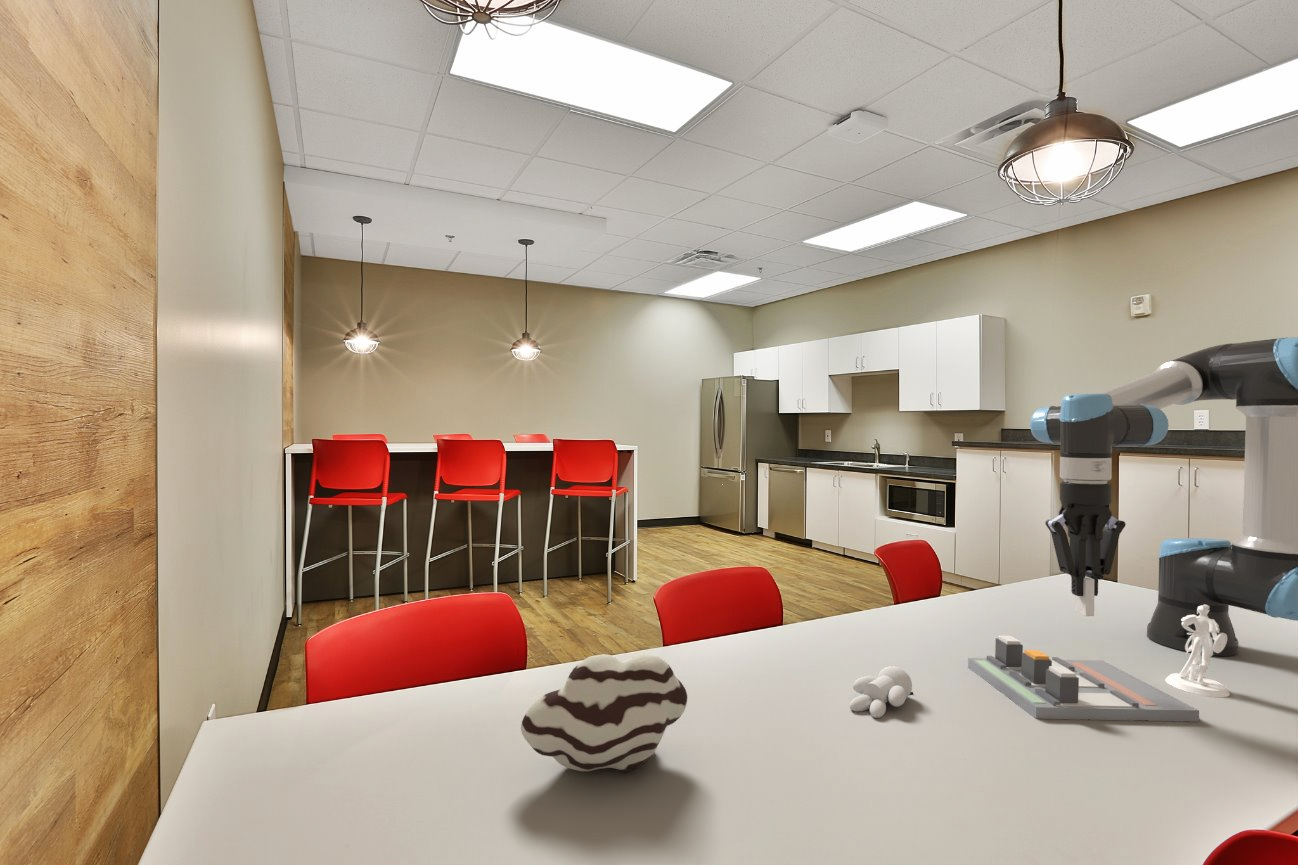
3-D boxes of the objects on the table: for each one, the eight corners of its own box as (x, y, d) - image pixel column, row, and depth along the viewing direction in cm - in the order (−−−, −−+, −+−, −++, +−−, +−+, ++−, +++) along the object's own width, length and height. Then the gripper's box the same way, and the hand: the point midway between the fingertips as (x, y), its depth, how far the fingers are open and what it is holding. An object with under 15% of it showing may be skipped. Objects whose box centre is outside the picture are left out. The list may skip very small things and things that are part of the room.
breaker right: (1063, 693, 104) (1064, 665, 104) (1078, 702, 101) (1079, 674, 101) (1045, 692, 104) (1046, 665, 104) (1059, 702, 101) (1060, 674, 101)
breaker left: (1010, 659, 119) (1011, 635, 119) (1022, 666, 116) (1022, 641, 116) (995, 659, 119) (995, 635, 119) (1005, 666, 116) (1006, 641, 116)
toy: (884, 730, 96) (929, 700, 106) (884, 695, 96) (929, 667, 106) (836, 711, 103) (883, 683, 112) (836, 677, 102) (883, 652, 112)
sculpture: (673, 736, 91) (676, 633, 91) (704, 783, 79) (707, 666, 79) (516, 755, 85) (518, 645, 85) (524, 810, 73) (526, 683, 73)
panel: (1102, 669, 121) (1103, 656, 121) (1198, 721, 100) (1199, 706, 100) (967, 667, 120) (968, 654, 120) (1035, 718, 99) (1036, 702, 99)
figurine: (1242, 694, 111) (1245, 609, 111) (1208, 699, 108) (1211, 613, 108) (1186, 674, 119) (1188, 596, 119) (1153, 679, 116) (1156, 599, 116)
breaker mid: (1038, 675, 112) (1038, 649, 112) (1051, 683, 108) (1051, 657, 108) (1021, 674, 112) (1022, 649, 112) (1033, 683, 108) (1034, 656, 108)
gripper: (1062, 483, 107) (1062, 621, 107) (1138, 483, 107) (1137, 620, 107) (1035, 479, 114) (1034, 607, 115) (1106, 478, 114) (1105, 607, 115)
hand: (1084, 613), depth 111 cm, fingers closed
